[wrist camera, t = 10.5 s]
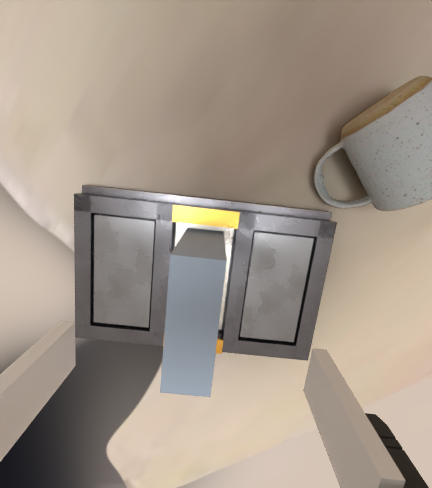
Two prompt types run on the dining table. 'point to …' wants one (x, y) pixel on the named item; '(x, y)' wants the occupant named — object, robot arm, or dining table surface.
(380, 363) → the dining table surface
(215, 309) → the blue-grey rectangular block
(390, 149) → the ceramic mug
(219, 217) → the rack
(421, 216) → the dining table surface
